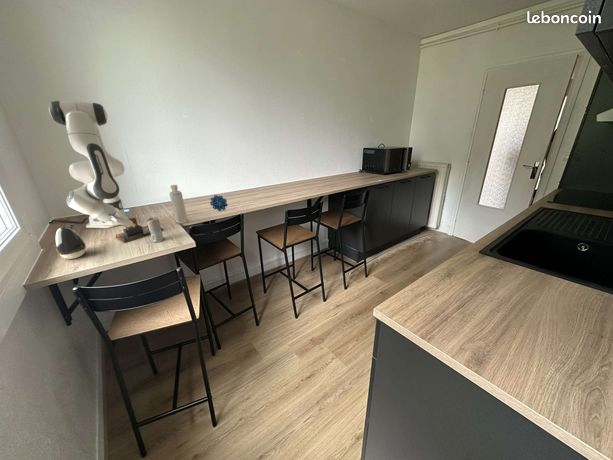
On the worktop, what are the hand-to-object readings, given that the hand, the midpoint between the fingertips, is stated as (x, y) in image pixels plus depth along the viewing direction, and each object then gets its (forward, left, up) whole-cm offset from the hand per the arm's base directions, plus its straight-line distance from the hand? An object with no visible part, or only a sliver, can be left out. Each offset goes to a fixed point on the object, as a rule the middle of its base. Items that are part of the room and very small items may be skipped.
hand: (132, 224), depth 139 cm
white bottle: (+20, +18, -6) cm, 27 cm away
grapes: (+41, +34, -6) cm, 53 cm away
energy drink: (+16, -9, -6) cm, 19 cm away
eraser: (0, 0, -5) cm, 5 cm away
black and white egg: (-17, -21, -6) cm, 28 cm away
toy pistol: (+2, +2, -6) cm, 7 cm away
